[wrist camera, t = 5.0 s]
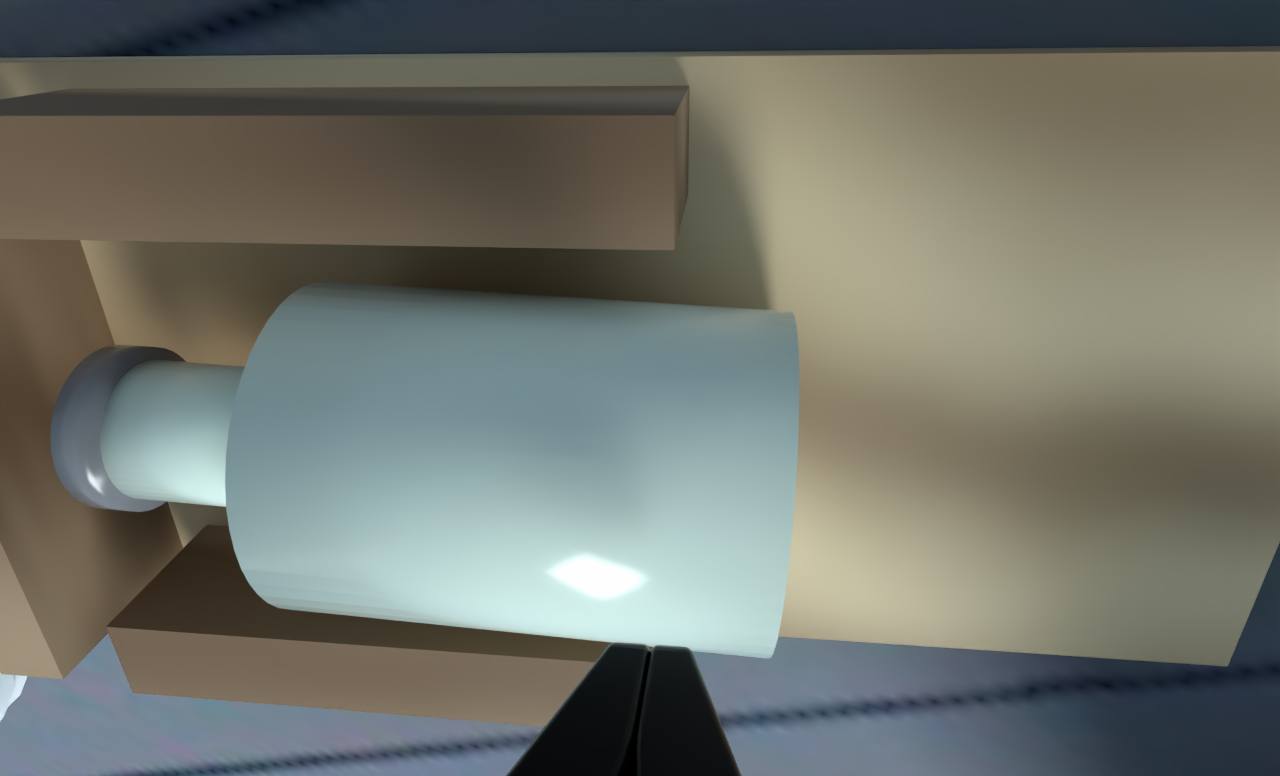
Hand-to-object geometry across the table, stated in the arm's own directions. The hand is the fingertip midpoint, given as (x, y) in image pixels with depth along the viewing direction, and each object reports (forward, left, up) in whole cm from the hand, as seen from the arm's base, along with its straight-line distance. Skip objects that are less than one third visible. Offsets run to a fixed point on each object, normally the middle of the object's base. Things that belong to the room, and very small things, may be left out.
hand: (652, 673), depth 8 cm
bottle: (0, -1, -4) cm, 4 cm away
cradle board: (0, +1, -8) cm, 8 cm away
